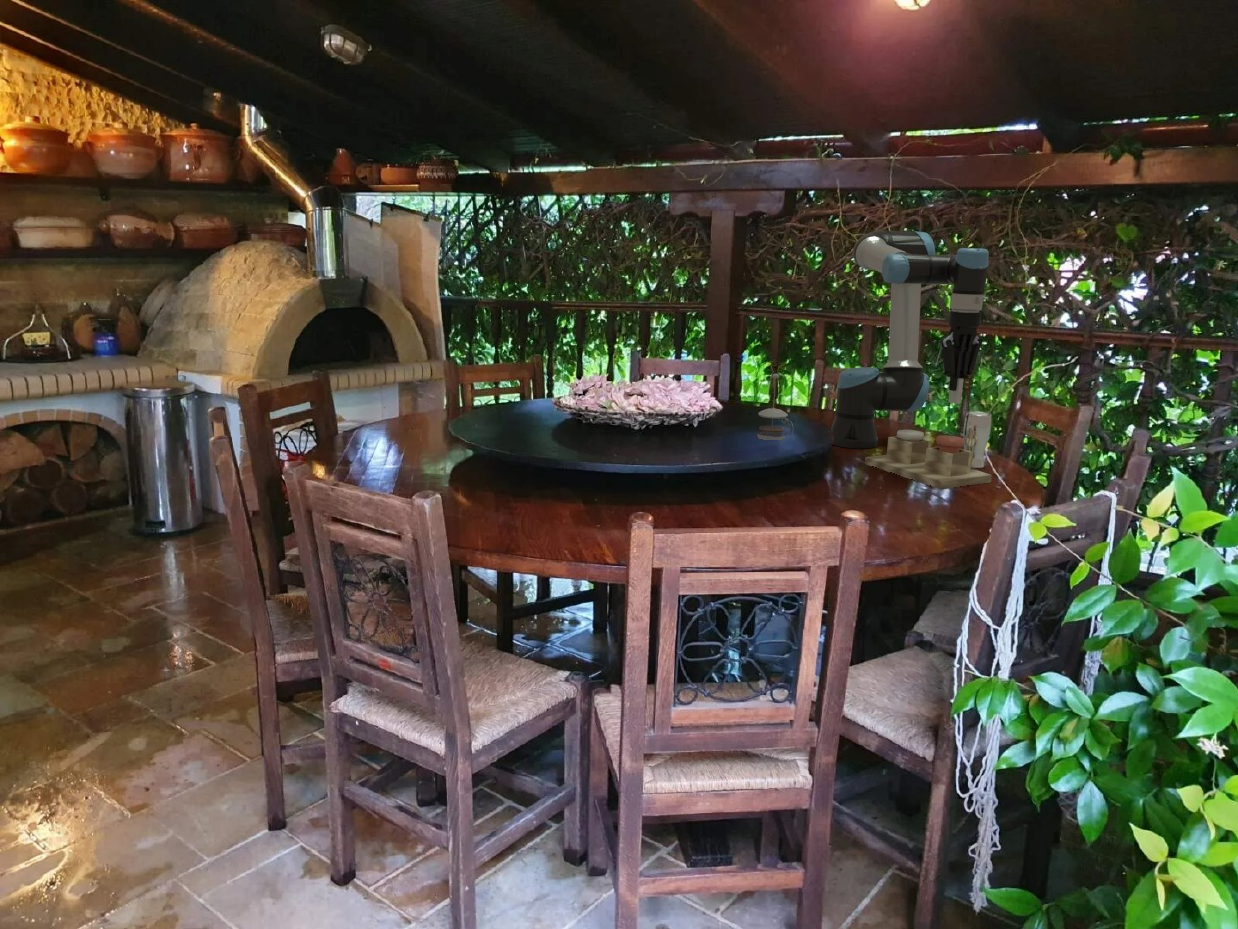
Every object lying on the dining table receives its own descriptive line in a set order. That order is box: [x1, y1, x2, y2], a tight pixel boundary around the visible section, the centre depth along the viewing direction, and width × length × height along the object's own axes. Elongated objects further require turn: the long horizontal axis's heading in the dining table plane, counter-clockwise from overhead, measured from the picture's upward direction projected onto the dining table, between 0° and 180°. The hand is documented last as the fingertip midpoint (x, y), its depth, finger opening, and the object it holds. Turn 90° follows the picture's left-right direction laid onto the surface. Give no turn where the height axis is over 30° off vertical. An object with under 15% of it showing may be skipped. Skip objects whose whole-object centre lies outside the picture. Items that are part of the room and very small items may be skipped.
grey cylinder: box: [896, 429, 925, 442], centre depth 244 cm, size 7×7×7 cm
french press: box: [757, 373, 794, 441], centre depth 244 cm, size 10×12×25 cm
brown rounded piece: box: [935, 434, 965, 453], centre depth 231 cm, size 7×7×7 cm
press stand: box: [864, 435, 993, 490], centre depth 238 cm, size 28×18×8 cm, turn 27°
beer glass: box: [962, 410, 992, 469], centre depth 247 cm, size 7×7×15 cm
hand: (954, 402), depth 229 cm, fingers closed
